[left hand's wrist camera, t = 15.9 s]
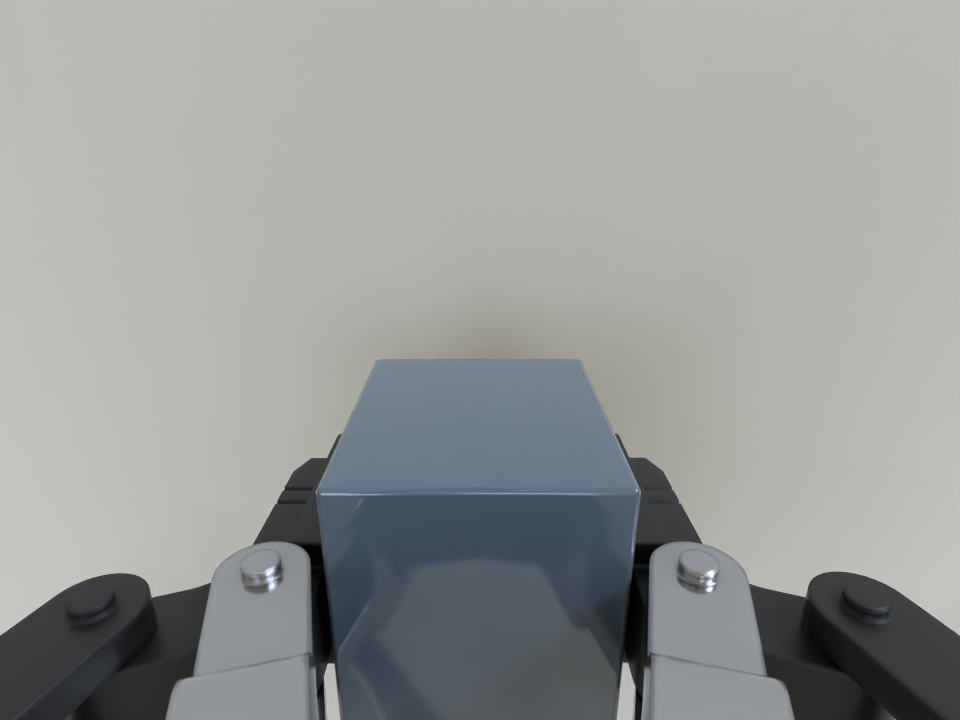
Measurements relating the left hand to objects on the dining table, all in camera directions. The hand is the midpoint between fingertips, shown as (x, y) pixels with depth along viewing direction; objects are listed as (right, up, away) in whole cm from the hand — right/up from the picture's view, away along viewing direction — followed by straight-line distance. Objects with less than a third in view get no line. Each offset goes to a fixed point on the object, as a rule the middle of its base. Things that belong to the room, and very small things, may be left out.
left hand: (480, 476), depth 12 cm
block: (0, 0, +1) cm, 1 cm away
